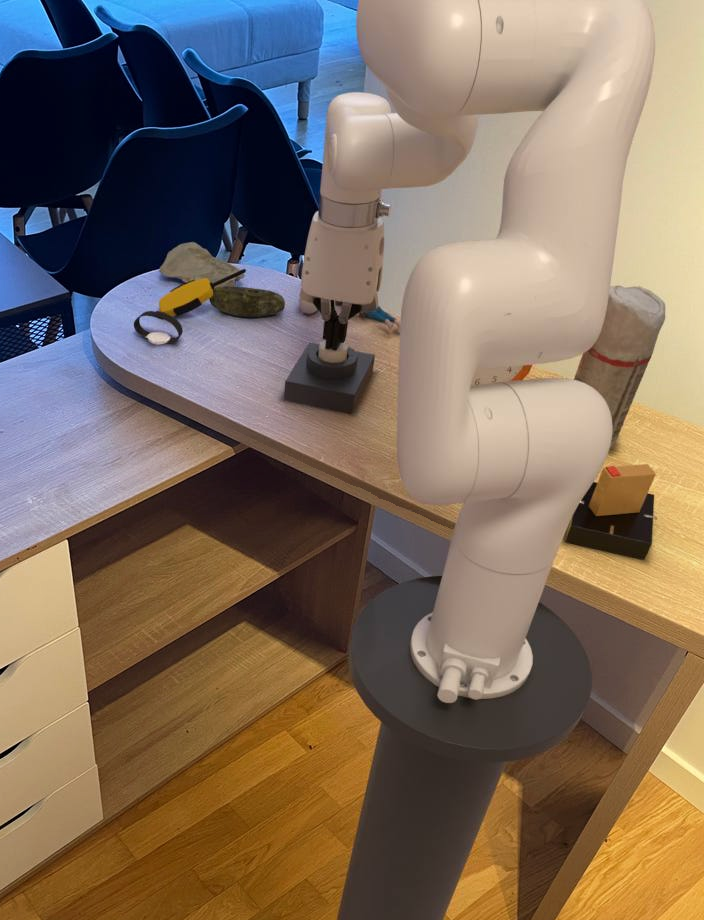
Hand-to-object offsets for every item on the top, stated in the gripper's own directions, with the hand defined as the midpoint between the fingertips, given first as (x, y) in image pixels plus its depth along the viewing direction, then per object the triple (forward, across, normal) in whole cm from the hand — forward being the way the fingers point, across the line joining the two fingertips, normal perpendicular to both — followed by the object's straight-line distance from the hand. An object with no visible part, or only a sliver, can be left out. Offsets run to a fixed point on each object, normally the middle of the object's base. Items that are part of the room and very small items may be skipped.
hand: (333, 345), depth 126 cm
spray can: (+7, -36, 0) cm, 37 cm away
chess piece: (+4, +10, -29) cm, 30 cm away
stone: (+4, +28, -30) cm, 42 cm away
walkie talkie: (+6, +31, -12) cm, 34 cm away
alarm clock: (+7, -20, -5) cm, 22 cm away
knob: (+4, -40, +19) cm, 44 cm away
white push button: (+2, 0, 0) cm, 2 cm away
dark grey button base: (+6, 0, 0) cm, 6 cm away
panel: (+6, -40, +19) cm, 45 cm away
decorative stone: (+2, +18, -16) cm, 24 cm away
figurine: (+5, -6, -19) cm, 20 cm away
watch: (+4, +28, -5) cm, 29 cm away
